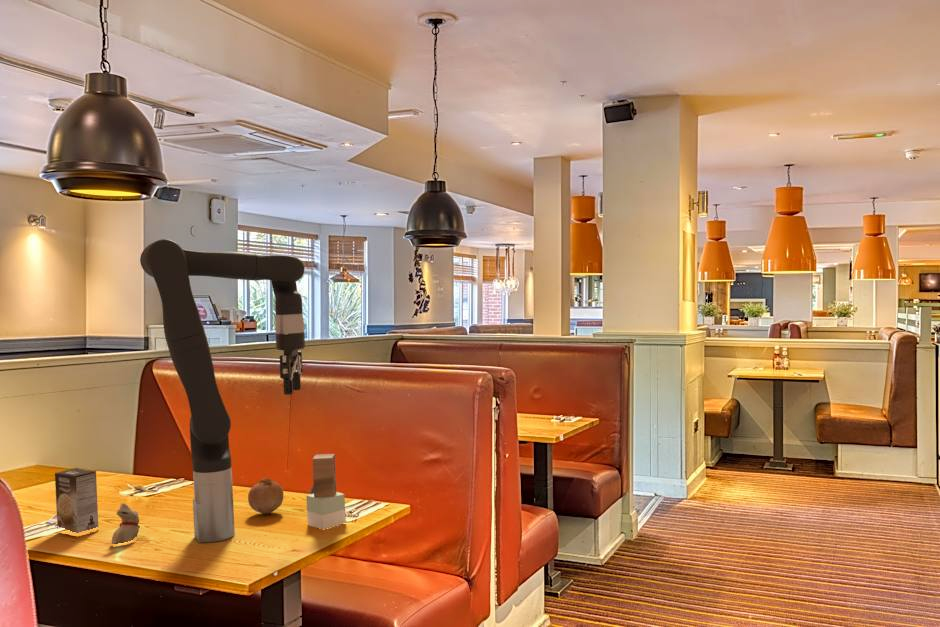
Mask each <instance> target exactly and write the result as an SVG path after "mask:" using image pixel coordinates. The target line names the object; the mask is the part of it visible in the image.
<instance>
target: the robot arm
mask: <svg viewBox="0 0 940 627" xmlns="http://www.w3.org/2000/svg"><path fill="white" fill-rule="evenodd" d="M139 263H140V266H141V268H142V270H143V271H144V273H146V274H147V275H148V276H150V277H151V278H153V279H154V281H155V285H156V287H157V290H158V293H159V296H160V299H161V300H160V301H161V307H162V321H163V323H162V324H163V334H164V337H165V341H166V344H167V348H168V352H169V355H170V359H171V361H172V364H173V366H174V368H175V372H176V373H177V375H178V378H179V379H180V382H181V383H182V386H183V388H184V390H185V394H186V397H187V400H188V406H189V410H190V419H189V437H190V438H189V440H190V454H191V455H190V456H191V462H192V463H191V464H192V475H193V476H192V477H193V478H192V480H193V481H192V482H193V498H194V499H193V498H192V507H193V508H192V509H193V510H192V511H193V530H194V531H193V532H194V533H193V534H194V538H195V540H196V539H197V540H196V541H197V543H198V542H200V543H215V542H221V541H225V540H228V539H231V538H232V537H234V536H235V532H236V531H235V528H236V527H235V511H234V510H235V509H234V492H233V490H234V489H233V473H232V472H233V471H232V470H233V469H232V467H233V466H232V455H231V451H230V450H231V449H230V442H229V441H230V440H229V433H230V431H231V426H232V421H231V417H230V415H229V413H228V410H227V409H226V405H225V404H224V400H223V399H222V397H221V394H220V391H219V388H218V384H217V379H216V374H215V369H214V363H213V358H212V354H211V350H210V345H209V341H208V338H207V334H206V330H205V328H204V324H203V321H202V318H201V315H200V313H199V309H198V307H197V303H196V301H195V299H194V298H195V297H194V294H193V291H192V288H191V282H190V277H192V276H193V277H196V276H197V277H212V278H221V279H230V280H231V279H232V280H243V281H271V287H272V292H273V295H274V300H275V301H274V306H275V310H274V311H275V319H274V321H275V322H274V329H275V332H274V333H275V349H276V350H277V351H283V355H279V378H280V379H281V380H282V381H283V394H284V395H285V396H286V395H289V396H290V395H293V393H294V391H300V390H301V389H302V383H301V382H302V381H301V379H302V378H301V376H302V373H303V372H304V368H303V353H302V351H301V350H303V349H305V348H306V338H305V334H306V333H305V321H304V314H303V299H302V295H301V294H300V293H299V292H298V286H297V282H298V281H299V280H300V279H301V278H302V277H303V276H304V273H305V266H304V263H303V262H302V260H301V259H299V257H297V256H293V255H284V254H283V255H282V254H281V255H280V254H262V253H261V254H259V253H256V252H255V253H253V252H242V251H241V252H240V251H198V250H191V249H190V250H189V249H186V248H185V249H183V247H181V246H180V244H178V243H177V242H176V241H174V240H171V239H168V238H167V239H166V238H161V239H158V240H156V241H154V242H151V243H150V244H148V245H147V246H146V247H145V248H144V249H143V250H142V252H141V253H140V257H139Z"/></svg>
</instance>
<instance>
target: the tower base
mask: <svg viewBox="0 0 940 627" xmlns="http://www.w3.org/2000/svg"><path fill="white" fill-rule="evenodd" d="M306 511H307V510H306ZM346 516H347V515H346V508H345V509H344V510H341V511H337V512H333V513H329V514H326V515H320V514H316V513H313V512H310V511H307V526H308V525H310V526H309V527H311V526H314V527H317V528H320V529H319V530H321V529H327V528H330V527H333V526H337V525H340V524H343V523H346V524H347V517H346ZM340 526H341V525H340ZM314 527H313V528H314ZM337 527H338V526H337ZM317 528H316V529H317ZM330 529H331V528H330ZM327 530H328V529H327Z"/></svg>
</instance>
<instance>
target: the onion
mask: <svg viewBox="0 0 940 627" xmlns="http://www.w3.org/2000/svg"><path fill="white" fill-rule="evenodd" d="M247 495H248V496H247V501H248V505H249V507H250V509H252V510H254V511H255V512H257V513H260V514H262V515H268V514H270V513H273V512H275V511H276V510H277V509H279V507H280V506H281V505H282V504H283V501H284V491H283V488H282V486H281V485H280V484H279V483H278V482H276V481H274V480H272V479H270V478H267V477H264V478H262V479H261V480H259V482H258V483H256V484H254V485H253V486H252V487H251V488H250V489H249V491H248V494H247Z"/></svg>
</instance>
